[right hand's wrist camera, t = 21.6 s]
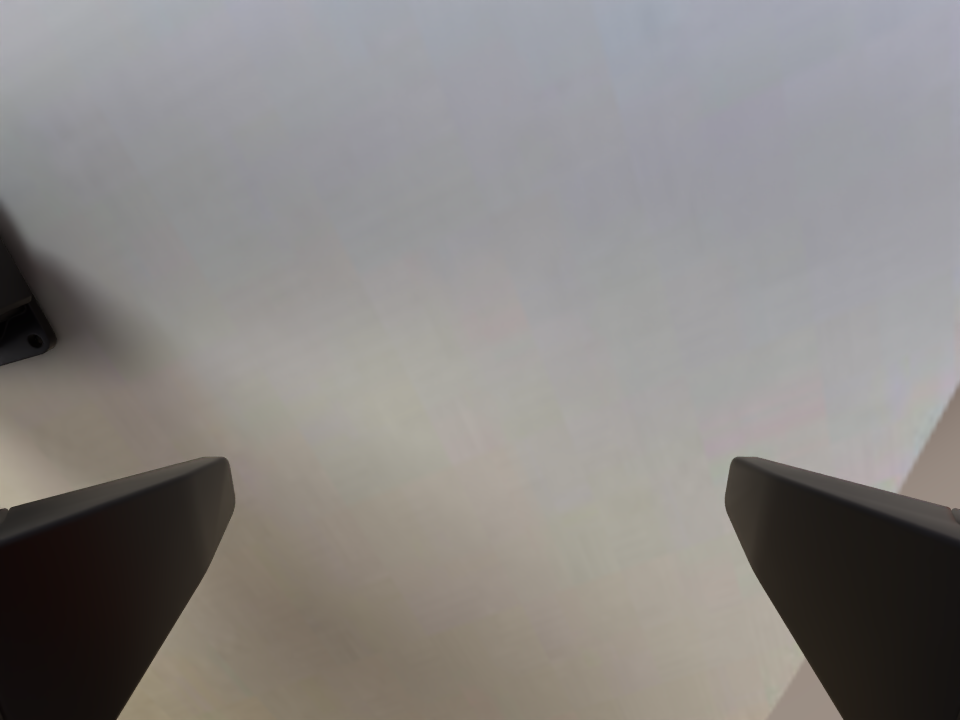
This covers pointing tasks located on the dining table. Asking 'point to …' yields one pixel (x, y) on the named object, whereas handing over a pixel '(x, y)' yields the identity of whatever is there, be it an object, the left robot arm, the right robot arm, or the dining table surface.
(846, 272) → the dining table surface
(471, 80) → the dining table surface
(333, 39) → the dining table surface
